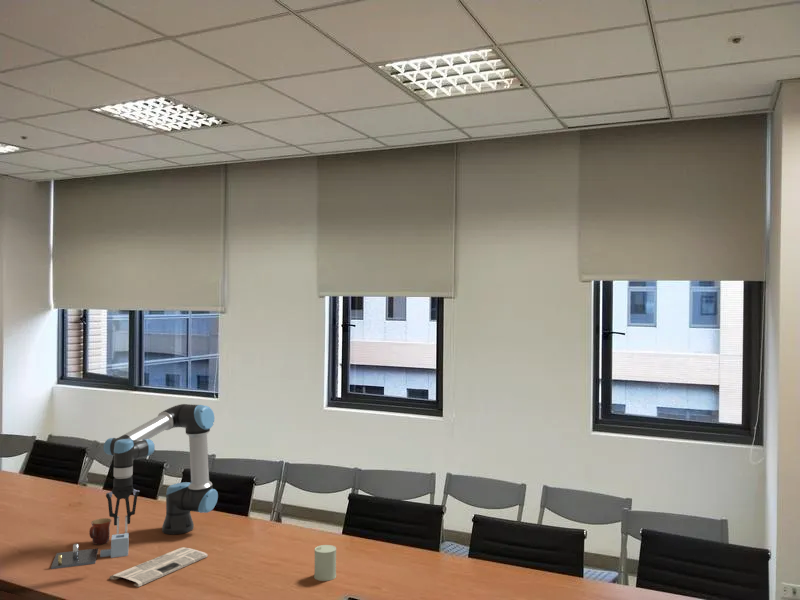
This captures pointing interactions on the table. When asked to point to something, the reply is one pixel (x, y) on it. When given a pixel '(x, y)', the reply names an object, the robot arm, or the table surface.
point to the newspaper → (161, 566)
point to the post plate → (76, 561)
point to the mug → (100, 531)
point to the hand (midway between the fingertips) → (121, 532)
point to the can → (325, 562)
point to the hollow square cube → (117, 546)
